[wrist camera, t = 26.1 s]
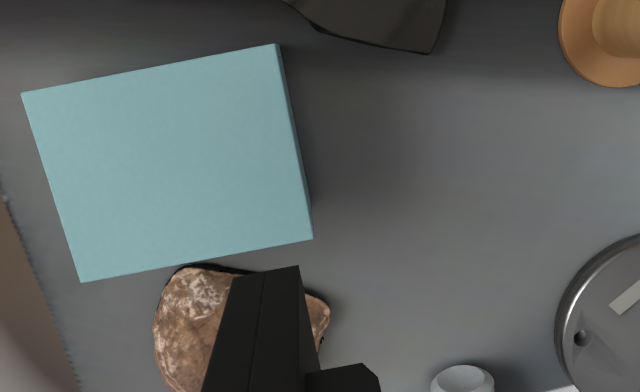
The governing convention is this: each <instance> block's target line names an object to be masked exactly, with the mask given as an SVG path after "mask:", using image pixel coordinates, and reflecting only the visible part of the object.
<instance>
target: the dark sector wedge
mask: <svg viewBox="0 0 640 392" xmlns="http://www.w3.org/2000/svg"><path fill="white" fill-rule="evenodd" d="M282 1H284V2H285V3H286V4H288V5H290V6H292V7H293V8H294V9H296V10H297V11H298V12H299V13H300V14H302V15H303V16H304V17H305V18H306V19H307V20H308V21H309V23H310V24H311V25H312V27H313V28H314V29H315V30H316V31H318V32H321V33H325V34H328V35H332V36H336V37H339V38H343V39H347V40H350V41H355V42H359V43H363V44H367V45H372V46H377V47H382V48H388V49H395V50H402V51H407V52H412V53H417V54H421V55H429V54H431V52H432V49H433V48H434V46H435V44H436V41H437V38H438V36H439V33H440V30H441V26H442V23H443V20H444V16H445V11H446V6H447V1H448V0H282Z"/></svg>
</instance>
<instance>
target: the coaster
mask: <svg viewBox="0 0 640 392" xmlns="http://www.w3.org/2000/svg"><path fill="white" fill-rule="evenodd" d="M598 1H599V0H563V3H562V6H561V9H560V14H559V21H558V34H559V41H560V46H561V49H562V51H563V54H564V56H565V58H566V60H567V62H568V63H569V64H570V66H571V67H572V68H573V69H574V70H575V71H576V73H578V74H579V75H580V76H581V77H583V78H584V79H586V80H588V81H589V82H592V83H594V84H597V85H601V86H605V87H615V88H621V87H630V86H634V85H638V84H640V58H622V57H616V56H612V55H610V54H608V53H606V52H605V51H604V50H602V49H601V47H600V46H599V45H598V44H597V42H596V40H595V38H594V35H593V31H592V17H593V13H594V10H595V7H596V5H597V3H598Z"/></svg>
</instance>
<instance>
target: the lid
mask: <svg viewBox="0 0 640 392" xmlns="http://www.w3.org/2000/svg"><path fill="white" fill-rule="evenodd" d="M21 97H22V100H23V103H24V106H25V110H26V113H27V116H28V119H29V122H30V125H31V128H32V132H33V135H34V138H35V141H36V144H37V147H38V150H39V154H40V157H41V160H42V163H43V166H44V169H45V172H46V175H47V179H48V182H49V185H50V188H51V191H52V194H53V197H54V201H55V204H56V207H57V210H58V213H59V216H60V219H61V223H62V226H63V229H64V232H65V235H66V238H67V241H68V245H69V248H70V251H71V254H72V257H73V260H74V263H75V266H76V270H77V273H78V276H79V279H80V282H81V283H85V282H90V281H95V280H101V279H106V278H111V277H117V276H122V275H127V274H132V273H138V272H143V271H148V270H153V269H159V268H164V267H169V266H174V265H180V264H185V263H190V262H195V261H201V260H206V259H211V258H216V257H222V256H227V255H232V254H238V253H243V252H248V251H253V250H259V249H264V248H269V247H274V246H280V245H285V244H290V243H295V242H301V241H306V240H311V239H314V233H313V228H312V223H311V218H310V213H309V209H308V204H307V199H306V194H305V189H304V184H303V179H302V174H301V169H300V164H299V159H298V154H297V149H296V144H295V139H294V134H293V129H292V124H291V119H290V114H289V109H288V104H287V99H286V94H285V89H284V84H283V79H282V74H281V70H280V65H279V60H278V55H277V50H276V45H275V44H274V43H273V44H268V45H263V46H257V47H252V48H247V49H242V50H237V51H232V52H227V53H222V54H216V55H211V56H206V57H201V58H196V59H191V60H186V61H181V62H175V63H170V64H165V65H160V66H155V67H150V68H145V69H140V70H135V71H129V72H124V73H119V74H114V75H109V76H104V77H99V78H94V79H88V80H83V81H78V82H73V83H68V84H63V85H58V86H53V87H47V88H42V89H37V90H32V91H27V92H22V93H21Z"/></svg>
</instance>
